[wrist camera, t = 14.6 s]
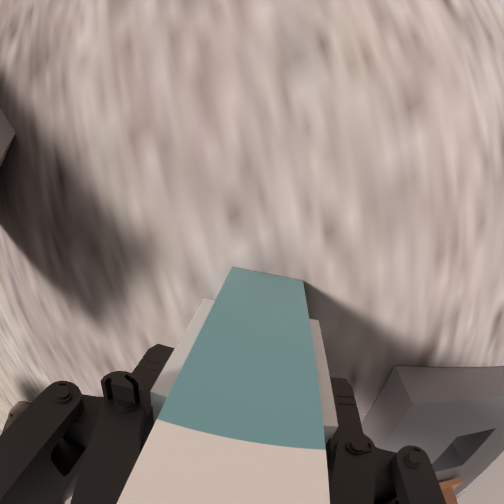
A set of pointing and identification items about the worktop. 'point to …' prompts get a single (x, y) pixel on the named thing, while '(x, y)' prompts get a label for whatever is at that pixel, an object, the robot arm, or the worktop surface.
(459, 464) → the socket block
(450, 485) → the terracotta shutter
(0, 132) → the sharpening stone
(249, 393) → the teal plug
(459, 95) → the worktop surface
